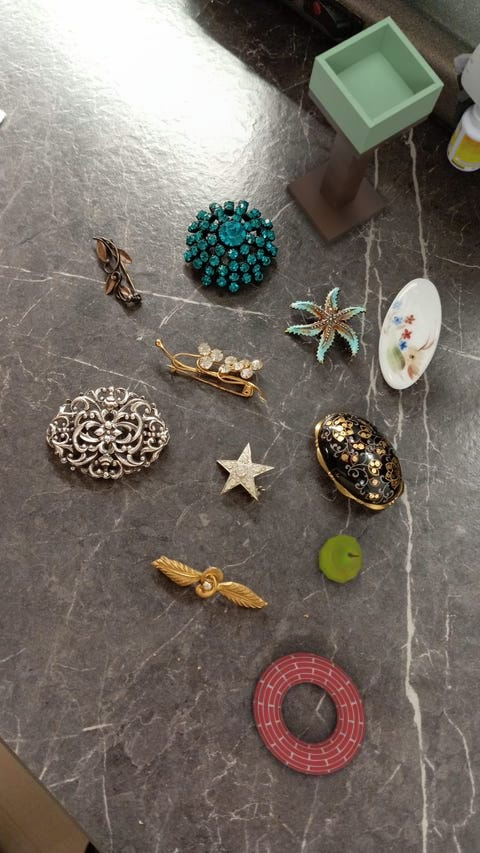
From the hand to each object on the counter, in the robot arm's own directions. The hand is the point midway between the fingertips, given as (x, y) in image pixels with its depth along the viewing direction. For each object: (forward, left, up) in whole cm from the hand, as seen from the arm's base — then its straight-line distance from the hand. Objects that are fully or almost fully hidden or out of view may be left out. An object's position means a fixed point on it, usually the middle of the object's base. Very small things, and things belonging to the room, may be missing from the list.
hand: (476, 134), depth 119 cm
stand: (+12, -9, -21) cm, 26 cm away
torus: (+59, +50, -21) cm, 80 cm away
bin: (+12, -9, +5) cm, 16 cm away
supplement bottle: (0, 0, -5) cm, 5 cm away
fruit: (+44, +36, -21) cm, 60 cm away
